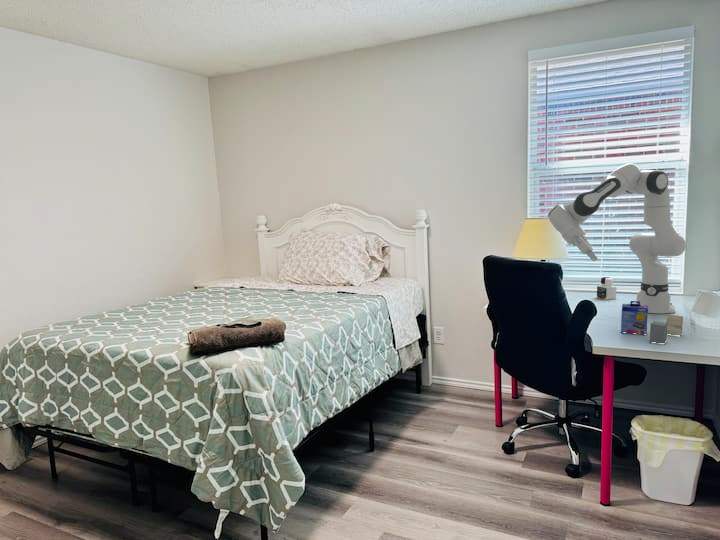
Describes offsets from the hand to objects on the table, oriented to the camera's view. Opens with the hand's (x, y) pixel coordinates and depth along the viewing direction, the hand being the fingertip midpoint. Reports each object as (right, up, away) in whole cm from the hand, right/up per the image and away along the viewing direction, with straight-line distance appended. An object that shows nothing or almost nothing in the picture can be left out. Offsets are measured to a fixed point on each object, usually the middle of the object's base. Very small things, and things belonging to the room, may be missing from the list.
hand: (595, 260), depth 222 cm
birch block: (+28, -32, -11) cm, 44 cm away
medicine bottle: (+35, -21, +60) cm, 73 cm away
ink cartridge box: (+13, -32, -7) cm, 35 cm away
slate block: (+16, -34, -20) cm, 43 cm away
